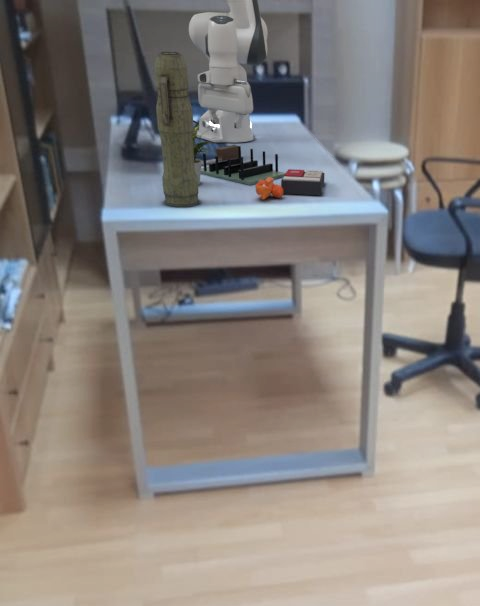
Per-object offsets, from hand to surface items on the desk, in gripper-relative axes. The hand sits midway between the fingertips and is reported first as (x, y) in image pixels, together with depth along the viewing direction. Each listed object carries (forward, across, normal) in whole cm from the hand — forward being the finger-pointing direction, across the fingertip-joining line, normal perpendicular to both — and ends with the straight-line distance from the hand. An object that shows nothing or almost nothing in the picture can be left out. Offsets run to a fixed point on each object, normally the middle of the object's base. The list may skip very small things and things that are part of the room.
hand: (226, 126), depth 243 cm
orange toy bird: (+11, -40, +26) cm, 49 cm away
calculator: (+11, -40, +12) cm, 43 cm away
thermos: (+11, -28, +45) cm, 54 cm away
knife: (+10, 0, +3) cm, 10 cm away
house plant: (+11, -14, +31) cm, 36 cm away
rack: (+10, -16, +11) cm, 22 cm away
